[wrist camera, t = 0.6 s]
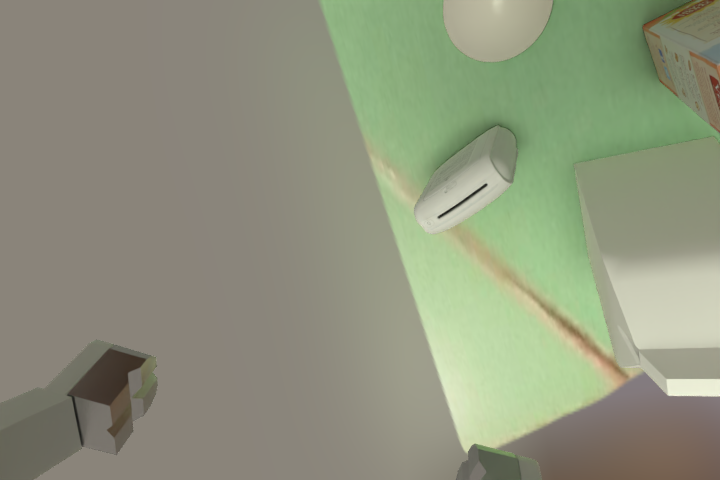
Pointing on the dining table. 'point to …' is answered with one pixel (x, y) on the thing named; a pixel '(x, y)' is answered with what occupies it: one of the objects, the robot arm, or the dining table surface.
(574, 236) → the dining table surface
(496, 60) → the white domed disc
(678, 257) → the milk
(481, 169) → the photo printer
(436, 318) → the dining table surface
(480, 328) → the dining table surface
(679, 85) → the cracker box
